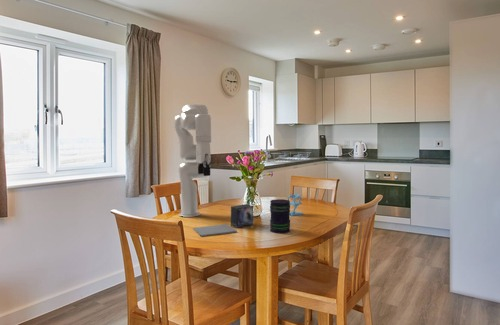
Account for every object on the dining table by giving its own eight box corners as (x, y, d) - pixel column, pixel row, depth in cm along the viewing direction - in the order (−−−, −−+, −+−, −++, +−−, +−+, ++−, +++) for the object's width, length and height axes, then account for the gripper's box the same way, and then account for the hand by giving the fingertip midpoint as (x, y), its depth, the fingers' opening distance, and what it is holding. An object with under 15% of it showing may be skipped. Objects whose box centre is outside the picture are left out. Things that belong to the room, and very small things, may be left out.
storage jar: (272, 234, 173) (272, 203, 172) (267, 229, 183) (267, 199, 182) (292, 232, 175) (292, 202, 174) (286, 227, 185) (286, 198, 184)
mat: (193, 229, 183) (193, 227, 183) (226, 225, 190) (226, 224, 190) (201, 236, 170) (201, 235, 170) (236, 232, 177) (236, 230, 177)
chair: (284, 214, 215) (284, 194, 215) (293, 212, 221) (293, 193, 220) (294, 216, 210) (294, 196, 209) (303, 214, 215) (303, 194, 214)
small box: (237, 228, 185) (237, 208, 184) (230, 226, 190) (230, 206, 189) (253, 225, 191) (253, 205, 190) (246, 223, 196) (246, 203, 195)
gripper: (191, 139, 182) (192, 173, 184) (200, 140, 166) (201, 176, 168) (205, 139, 185) (206, 172, 186) (216, 139, 169) (216, 176, 171)
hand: (204, 174), depth 177 cm, fingers open, 9 cm apart
